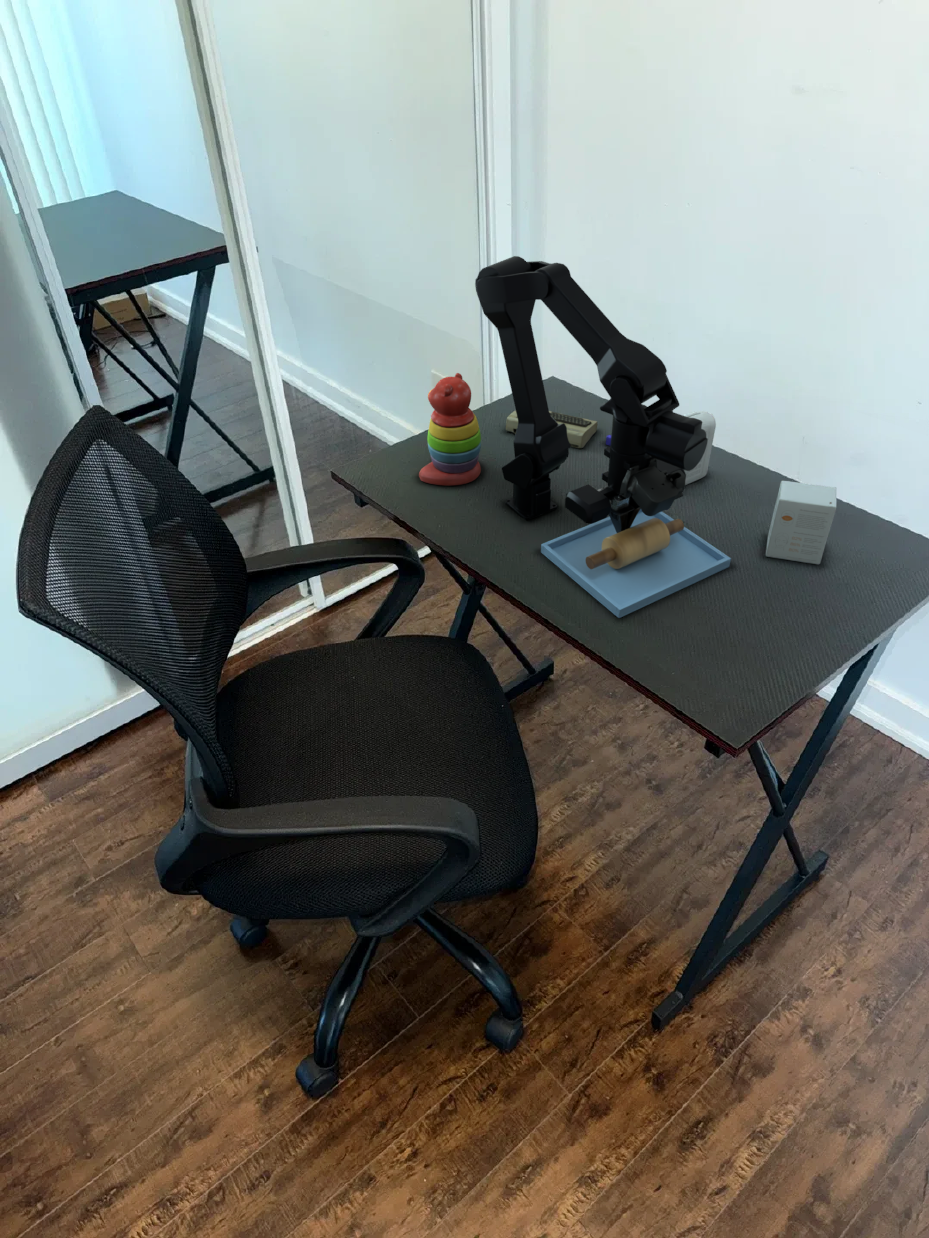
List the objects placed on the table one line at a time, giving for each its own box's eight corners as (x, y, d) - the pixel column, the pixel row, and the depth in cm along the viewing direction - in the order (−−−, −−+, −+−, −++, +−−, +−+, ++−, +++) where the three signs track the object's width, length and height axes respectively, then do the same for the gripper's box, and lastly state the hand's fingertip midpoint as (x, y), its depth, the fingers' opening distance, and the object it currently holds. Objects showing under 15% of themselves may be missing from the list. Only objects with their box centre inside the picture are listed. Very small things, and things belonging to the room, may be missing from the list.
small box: (820, 545, 128) (838, 486, 121) (819, 566, 124) (838, 507, 117) (766, 536, 130) (781, 479, 123) (764, 557, 126) (779, 498, 119)
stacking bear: (443, 452, 154) (437, 361, 142) (492, 463, 150) (490, 370, 138) (414, 480, 146) (406, 386, 135) (465, 493, 143) (462, 397, 131)
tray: (540, 552, 129) (541, 544, 128) (645, 509, 137) (646, 501, 136) (618, 618, 117) (619, 609, 116) (729, 566, 125) (731, 558, 124)
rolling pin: (578, 568, 125) (580, 541, 121) (666, 530, 131) (670, 503, 128) (598, 585, 121) (601, 557, 118) (688, 545, 128) (693, 518, 125)
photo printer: (692, 466, 147) (703, 401, 139) (710, 476, 144) (722, 411, 136) (649, 484, 143) (658, 419, 135) (667, 495, 140) (676, 429, 132)
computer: (597, 430, 158) (599, 414, 156) (581, 450, 152) (582, 433, 150) (523, 414, 164) (523, 399, 162) (505, 432, 158) (505, 417, 156)
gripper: (615, 490, 108) (607, 583, 119) (720, 449, 115) (703, 540, 126) (564, 456, 116) (560, 546, 126) (665, 419, 123) (654, 507, 133)
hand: (621, 535), depth 127 cm, fingers closed, pressing on rolling pin
